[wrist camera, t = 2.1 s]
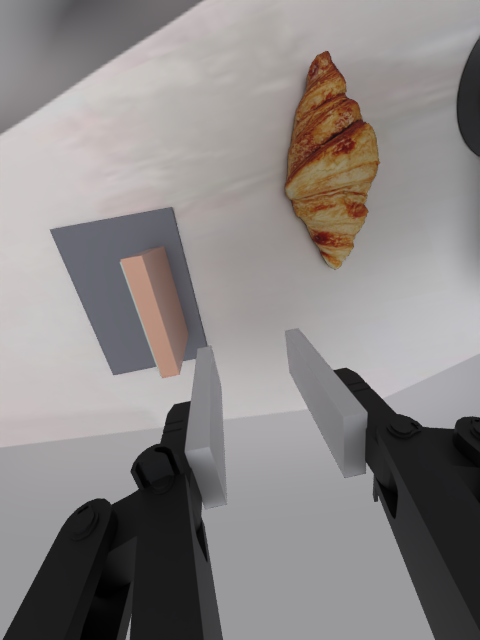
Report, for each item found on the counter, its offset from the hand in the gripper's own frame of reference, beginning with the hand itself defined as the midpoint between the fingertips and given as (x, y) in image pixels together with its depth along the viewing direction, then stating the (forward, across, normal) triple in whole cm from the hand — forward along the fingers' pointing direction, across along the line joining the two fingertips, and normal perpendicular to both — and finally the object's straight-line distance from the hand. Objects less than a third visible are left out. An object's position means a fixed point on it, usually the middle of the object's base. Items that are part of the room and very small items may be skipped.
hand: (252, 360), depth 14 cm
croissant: (+21, +13, +10) cm, 27 cm away
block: (+20, -8, 0) cm, 21 cm away
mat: (+21, -12, 0) cm, 24 cm away
